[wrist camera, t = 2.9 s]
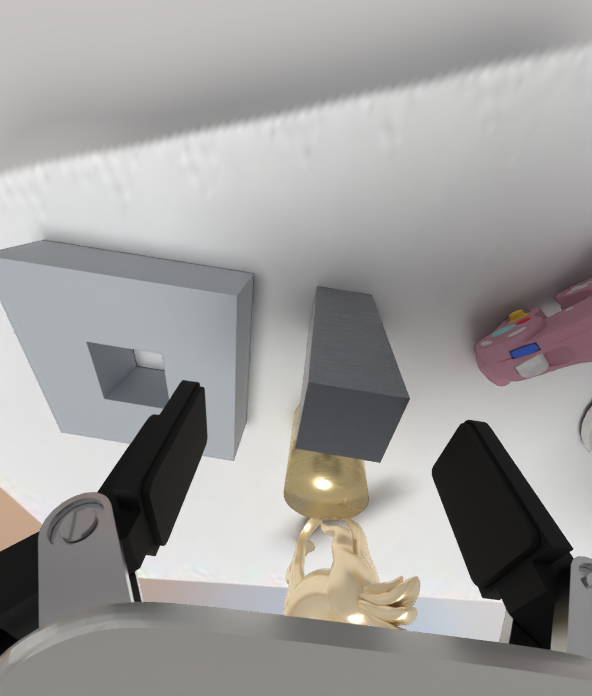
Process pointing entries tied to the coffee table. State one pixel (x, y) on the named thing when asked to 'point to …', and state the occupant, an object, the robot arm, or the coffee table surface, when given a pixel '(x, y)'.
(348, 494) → the round bit
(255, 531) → the coffee table surface
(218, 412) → the socket block
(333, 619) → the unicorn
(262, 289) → the coffee table surface
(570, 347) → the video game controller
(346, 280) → the coffee table surface
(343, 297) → the square bit
